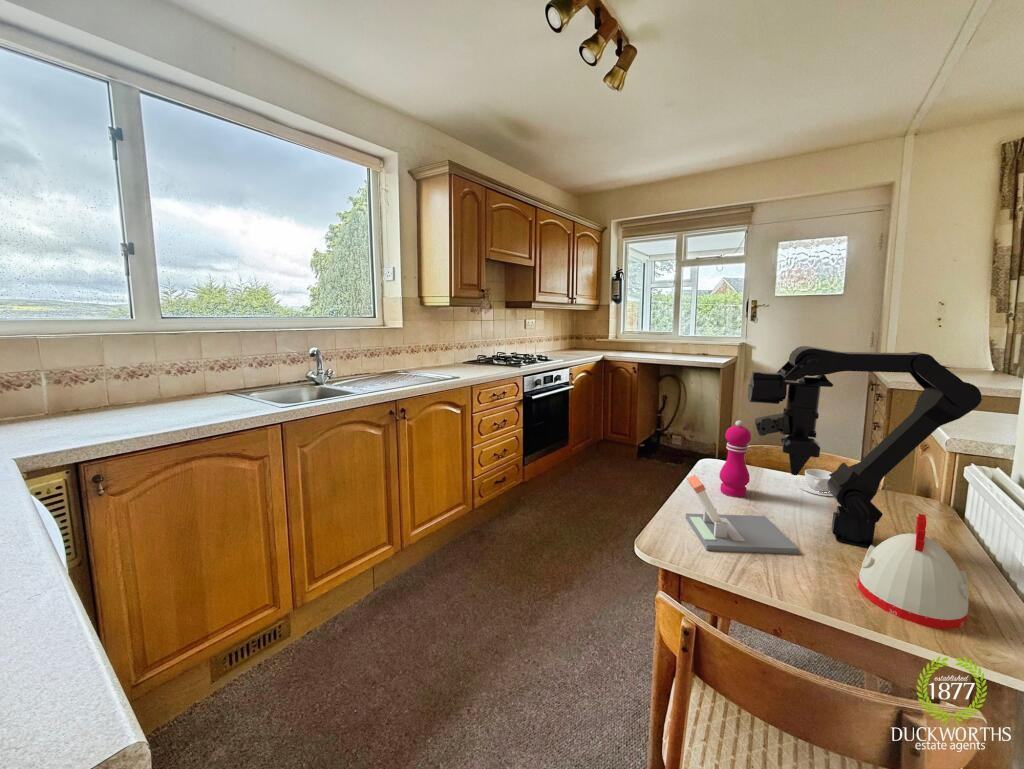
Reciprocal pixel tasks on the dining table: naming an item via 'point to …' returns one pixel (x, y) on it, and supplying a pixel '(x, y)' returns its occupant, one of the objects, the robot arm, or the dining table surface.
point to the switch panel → (740, 534)
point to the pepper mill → (735, 462)
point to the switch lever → (704, 498)
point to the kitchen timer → (915, 580)
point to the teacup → (816, 481)
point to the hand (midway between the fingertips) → (793, 474)
